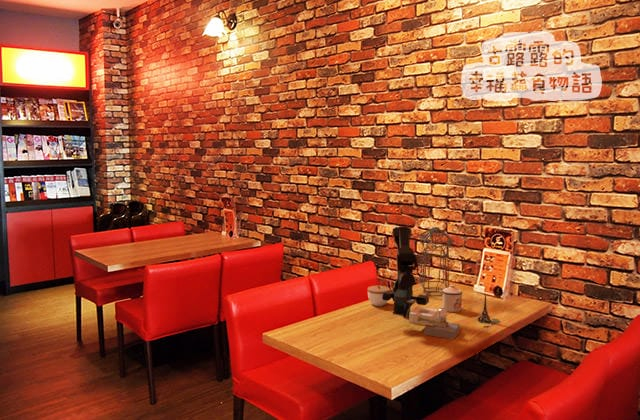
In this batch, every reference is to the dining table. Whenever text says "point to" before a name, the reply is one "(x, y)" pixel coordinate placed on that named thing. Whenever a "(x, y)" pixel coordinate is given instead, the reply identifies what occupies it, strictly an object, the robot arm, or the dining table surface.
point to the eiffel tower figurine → (485, 315)
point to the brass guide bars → (418, 318)
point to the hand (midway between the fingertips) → (405, 317)
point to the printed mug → (452, 299)
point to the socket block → (443, 330)
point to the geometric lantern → (434, 255)
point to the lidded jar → (377, 295)
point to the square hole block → (424, 313)
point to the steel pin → (442, 316)
